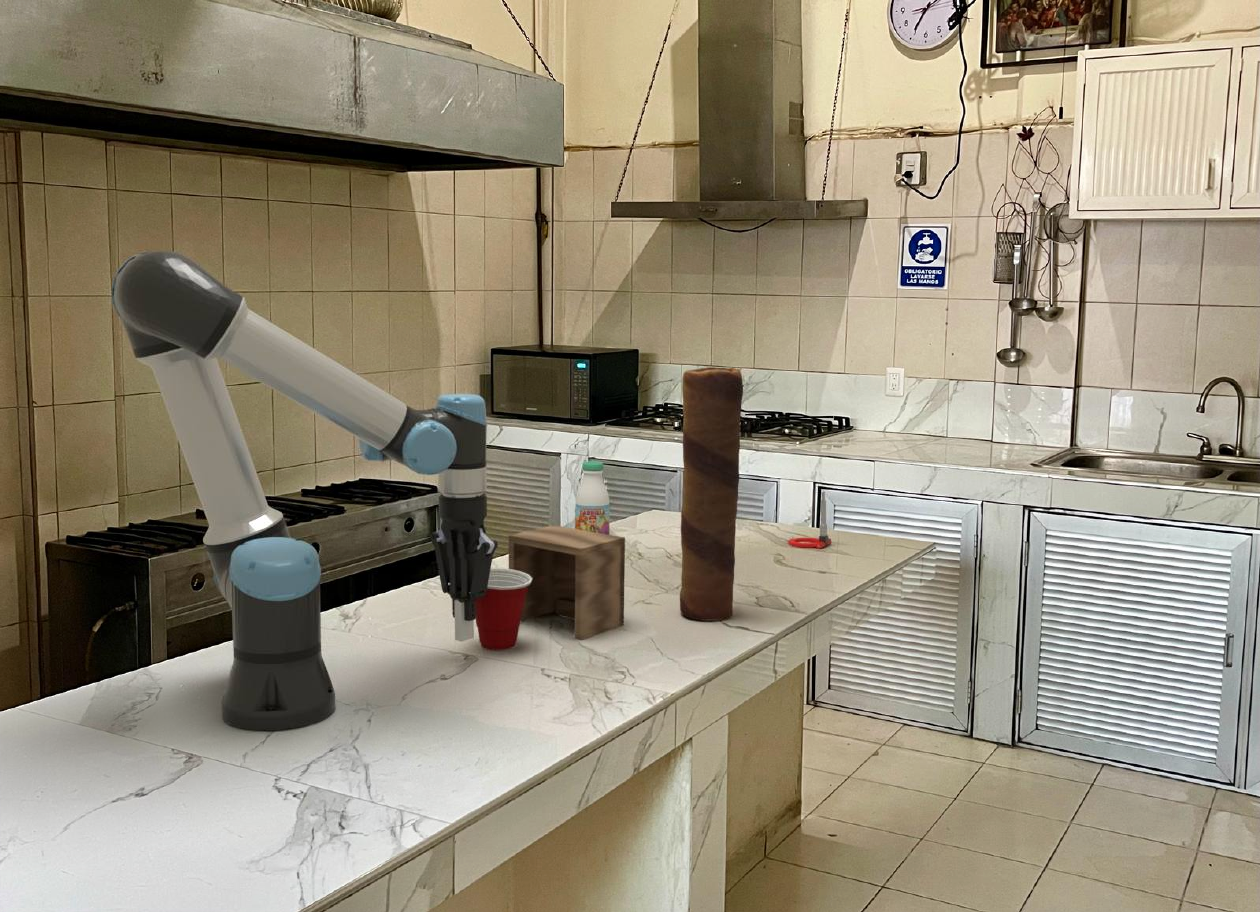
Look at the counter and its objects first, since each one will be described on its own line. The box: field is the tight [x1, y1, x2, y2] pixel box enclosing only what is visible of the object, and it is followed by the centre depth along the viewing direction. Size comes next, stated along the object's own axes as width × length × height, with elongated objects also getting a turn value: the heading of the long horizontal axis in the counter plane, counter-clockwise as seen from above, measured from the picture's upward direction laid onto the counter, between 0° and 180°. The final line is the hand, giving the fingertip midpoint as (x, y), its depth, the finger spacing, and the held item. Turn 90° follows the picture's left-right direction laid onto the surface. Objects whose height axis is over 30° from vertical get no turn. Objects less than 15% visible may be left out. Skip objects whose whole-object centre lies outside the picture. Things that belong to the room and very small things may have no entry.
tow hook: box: [787, 490, 832, 549], centre depth 281 cm, size 8×13×9 cm
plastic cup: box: [475, 567, 532, 651], centre depth 199 cm, size 11×11×12 cm
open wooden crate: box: [508, 524, 626, 641], centre depth 212 cm, size 12×16×16 cm
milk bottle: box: [574, 461, 611, 535], centre depth 270 cm, size 8×8×20 cm
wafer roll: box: [679, 366, 744, 621], centre depth 217 cm, size 10×11×45 cm
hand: (464, 638), depth 192 cm, fingers closed
